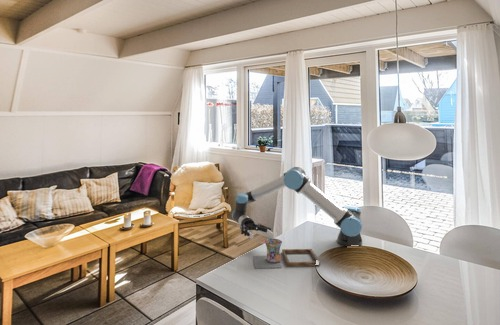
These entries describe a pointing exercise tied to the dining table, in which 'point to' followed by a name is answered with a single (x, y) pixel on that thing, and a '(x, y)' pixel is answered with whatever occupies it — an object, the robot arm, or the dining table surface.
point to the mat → (264, 263)
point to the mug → (273, 250)
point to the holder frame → (299, 264)
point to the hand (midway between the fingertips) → (263, 236)
